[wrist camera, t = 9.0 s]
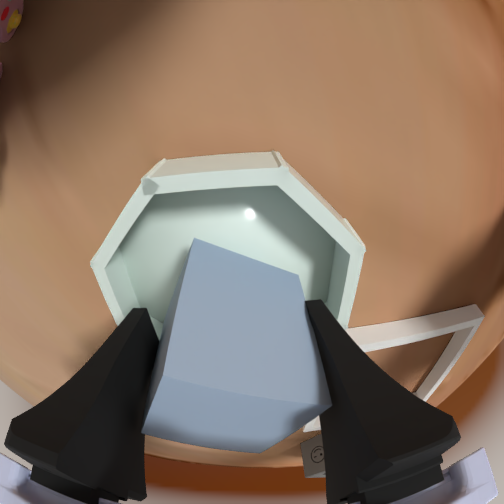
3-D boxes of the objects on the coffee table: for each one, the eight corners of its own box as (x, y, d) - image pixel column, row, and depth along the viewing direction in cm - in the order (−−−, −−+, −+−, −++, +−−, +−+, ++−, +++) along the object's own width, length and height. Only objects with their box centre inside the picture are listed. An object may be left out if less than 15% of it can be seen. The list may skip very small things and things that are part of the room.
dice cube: (330, 428, 27) (338, 465, 22) (355, 431, 28) (363, 464, 24) (300, 442, 29) (305, 477, 24) (326, 445, 30) (332, 476, 26)
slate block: (298, 274, 12) (332, 405, 7) (252, 341, 14) (260, 453, 9) (194, 237, 11) (162, 375, 6) (165, 315, 13) (140, 433, 8)
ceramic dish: (353, 150, 11) (378, 166, 9) (327, 335, 17) (336, 367, 15) (93, 169, 11) (65, 189, 9) (150, 344, 17) (142, 375, 15)
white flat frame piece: (475, 303, 17) (484, 316, 16) (418, 393, 24) (423, 404, 23) (321, 331, 17) (326, 350, 16) (301, 419, 24) (303, 432, 23)
